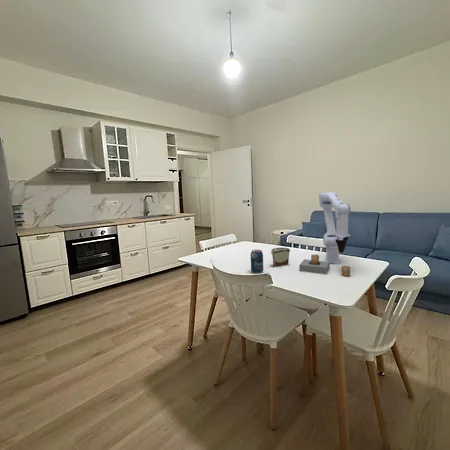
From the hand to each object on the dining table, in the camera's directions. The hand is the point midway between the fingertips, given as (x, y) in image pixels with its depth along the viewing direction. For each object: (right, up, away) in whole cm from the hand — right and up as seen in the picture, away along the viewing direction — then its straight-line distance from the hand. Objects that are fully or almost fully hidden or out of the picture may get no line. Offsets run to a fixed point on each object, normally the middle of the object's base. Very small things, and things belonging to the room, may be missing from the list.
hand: (341, 251), depth 135 cm
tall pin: (-14, -11, +3) cm, 18 cm away
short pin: (-2, -12, -8) cm, 14 cm away
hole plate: (-14, -11, +3) cm, 18 cm away
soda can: (-46, -12, +4) cm, 48 cm away
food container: (-31, -10, +15) cm, 36 cm away
